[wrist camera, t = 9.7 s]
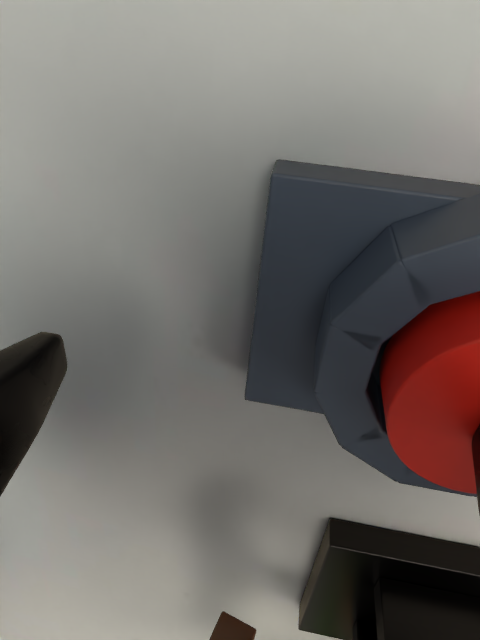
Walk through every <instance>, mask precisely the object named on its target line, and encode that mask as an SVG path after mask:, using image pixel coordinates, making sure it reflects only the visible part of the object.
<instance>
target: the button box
mask: <svg viewBox="0 0 480 640" xmlns="http://www.w3.org/2000/svg"><path fill="white" fill-rule="evenodd" d="M479 291H480V185H475V184H467V183H459V182H451V181H444V180H436V179H428V178H420V177H412V176H404V175H397V174H389V173H381V172H373V171H365V170H357V169H350V168H342V167H334V166H326V165H318V164H311V163H303V162H295V161H287V160H277V161H276V162H275V165H274V168H273V171H272V174H271V178H270V186H269V195H268V203H267V212H266V220H265V229H264V237H263V245H262V254H261V262H260V271H259V279H258V287H257V296H256V304H255V313H254V321H253V330H252V338H251V346H250V355H249V363H248V372H247V380H246V388H245V400H248V401H254V402H260V403H265V404H271V405H277V406H282V407H288V408H294V409H299V410H305V411H311V412H316V413H322V414H325V416H326V418H327V420H328V422H329V425H330V427H331V429H332V431H333V433H334V435H335V437H336V439H337V441H338V443H339V445H340V446H342V448H344V449H345V450H347V451H348V452H350V453H351V454H353V455H355V456H356V457H358V458H359V459H361V460H363V461H364V462H366V463H367V464H369V465H370V466H372V467H374V468H375V469H377V470H378V471H380V472H382V473H383V474H385V475H386V476H388V477H389V478H391V479H393V480H394V481H398V483H402V484H408V485H413V486H418V487H424V488H429V489H434V490H440V491H445V492H450V493H456V494H461V495H466V496H474V497H477V494H472V493H465V492H460V491H456V490H452V489H449V488H446V487H442V486H439V485H437V484H435V483H432V482H430V481H428V480H426V479H424V478H423V477H421V476H419V475H418V474H416V473H415V472H413V471H412V470H411V469H409V468H408V467H407V466H406V465H405V464H404V463H403V462H402V461H401V460H400V458H399V457H398V456H397V454H396V453H395V452H394V450H393V448H392V446H391V444H390V442H389V438H388V435H387V429H386V422H385V415H384V407H383V400H382V392H381V385H380V376H379V372H380V363H381V359H382V355H383V352H384V350H385V348H386V345H387V344H388V342H389V340H390V339H391V337H392V336H393V335H394V334H395V333H396V332H397V331H399V330H400V329H401V328H402V327H404V326H405V325H406V324H407V323H408V322H410V321H411V320H412V319H413V318H415V317H416V316H417V315H418V314H420V313H421V312H422V311H423V310H424V309H426V308H427V307H428V306H429V305H431V304H435V303H438V302H442V301H446V300H449V299H453V298H457V297H461V296H464V295H468V294H472V293H475V292H479Z"/></svg>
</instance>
